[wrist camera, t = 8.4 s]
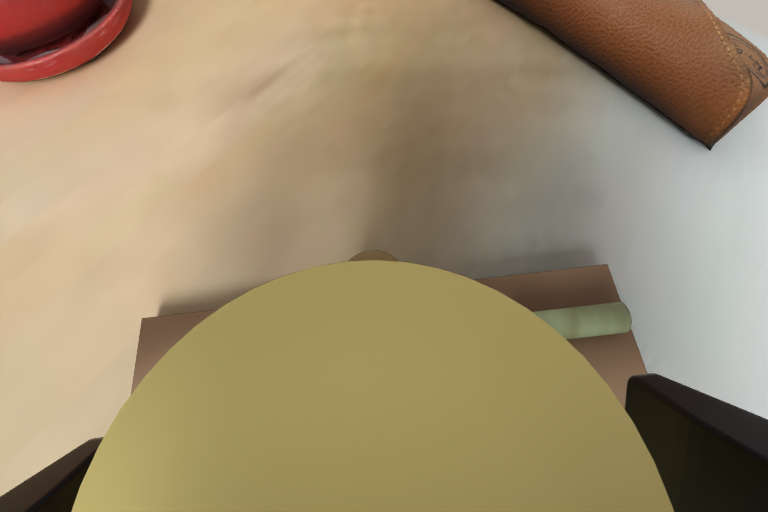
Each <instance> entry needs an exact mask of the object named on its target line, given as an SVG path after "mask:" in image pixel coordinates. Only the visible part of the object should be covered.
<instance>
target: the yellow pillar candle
mask: <svg viewBox="0 0 768 512" xmlns="http://www.w3.org/2000/svg"><path fill="white" fill-rule="evenodd" d="M71 512H674V510H673V507H672V504H671V502H670V499H669V497H668V494H667V492H666V489H665V487H664V484H663V482H662V479H661V477H660V475H659V472H658V470H657V467H656V465H655V462H654V460H653V458H652V456H651V455H650V453H649V451H648V449H647V447H646V445H645V443H644V441H643V440H642V438H641V436H640V434H639V432H638V430H637V428H636V426H635V425H634V423H633V421H632V420H631V418H630V417H629V415H628V414H627V412H626V411H625V409H624V408H623V406H622V405H621V403H620V402H619V400H618V399H617V397H616V396H615V394H614V393H613V391H612V390H611V389H610V387H609V386H608V385H607V383H606V382H605V381H604V380H603V379H602V378H601V376H600V375H599V374H598V373H597V372H596V370H595V369H594V368H593V367H592V366H591V365H590V363H589V362H588V361H587V360H586V359H585V357H584V356H583V355H582V354H581V353H580V352H578V351H577V350H576V349H575V348H574V347H573V346H572V345H571V344H570V343H569V342H568V341H567V340H566V339H565V338H564V337H563V336H562V335H561V334H560V333H558V332H557V331H556V330H555V329H554V328H552V327H551V326H550V325H549V324H547V323H546V322H545V321H543V320H542V319H541V318H539V317H538V316H537V315H535V314H534V313H533V312H531V311H530V310H529V309H527V308H526V307H524V306H522V305H521V304H519V303H517V302H516V301H514V300H512V299H511V298H509V297H507V296H505V295H504V294H502V293H500V292H499V291H497V290H495V289H492V288H490V287H488V286H486V285H483V284H481V283H479V282H477V281H474V280H472V279H470V278H468V277H465V276H461V275H458V274H455V273H452V272H448V271H445V270H442V269H439V268H435V267H430V266H424V265H419V264H413V263H408V262H396V261H381V260H368V261H349V262H340V263H334V264H328V265H323V266H317V267H312V268H309V269H305V270H302V271H299V272H295V273H292V274H289V275H285V276H282V277H280V278H277V279H275V280H273V281H270V282H268V283H266V284H263V285H261V286H259V287H256V288H254V289H252V290H250V291H249V292H247V293H245V294H243V295H241V296H240V297H238V298H236V299H234V300H233V301H231V302H229V303H227V304H226V305H224V306H223V307H221V308H220V309H218V310H217V311H216V312H214V313H213V314H211V315H210V316H209V317H207V318H206V319H205V320H203V321H202V322H200V323H199V324H198V325H196V326H195V327H194V328H193V329H192V330H191V331H189V332H188V333H187V334H186V335H185V336H184V337H183V338H182V339H181V340H179V341H178V342H177V343H176V344H175V345H174V346H173V347H172V348H171V349H169V350H168V352H167V353H166V354H165V355H164V356H163V357H162V358H161V359H160V360H159V362H158V363H157V364H156V365H155V366H154V367H153V368H152V369H151V370H150V371H149V373H148V374H147V375H146V376H145V377H144V378H143V380H142V381H141V382H140V384H139V385H138V386H137V388H136V389H135V390H134V392H133V393H132V395H131V396H130V397H129V399H128V400H127V401H126V403H125V404H124V405H123V407H122V408H121V410H120V411H119V413H118V414H117V416H116V418H115V420H114V421H113V423H112V425H111V426H110V428H109V430H108V431H107V433H106V435H105V436H104V438H103V440H102V442H101V443H100V445H99V447H98V449H97V451H96V453H95V455H94V458H93V460H92V462H91V464H90V466H89V468H88V470H87V473H86V475H85V477H84V479H83V481H82V483H81V486H80V488H79V491H78V494H77V497H76V500H75V502H74V505H73V508H72V511H71Z"/></svg>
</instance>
